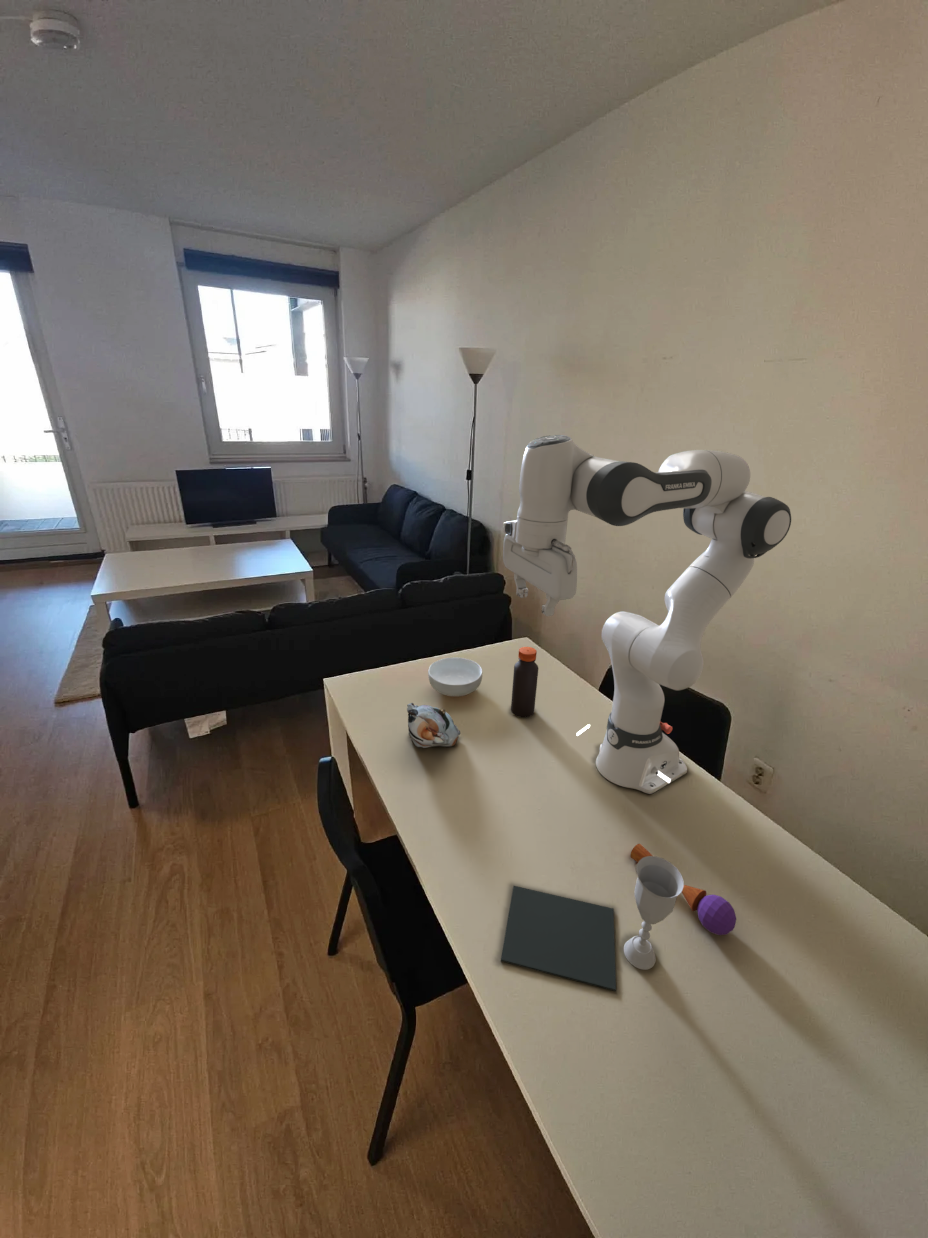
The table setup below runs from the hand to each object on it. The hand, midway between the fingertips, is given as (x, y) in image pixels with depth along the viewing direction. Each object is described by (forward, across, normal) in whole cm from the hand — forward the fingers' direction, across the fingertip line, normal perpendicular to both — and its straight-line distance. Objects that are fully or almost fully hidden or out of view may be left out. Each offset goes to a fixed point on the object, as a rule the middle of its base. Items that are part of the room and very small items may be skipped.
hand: (534, 605), depth 95 cm
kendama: (+48, -32, -16) cm, 60 cm away
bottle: (+48, +31, -19) cm, 60 cm away
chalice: (+48, -38, -2) cm, 61 cm away
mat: (+48, -30, +8) cm, 57 cm away
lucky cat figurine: (+48, +27, +10) cm, 56 cm away
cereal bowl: (+48, +49, -5) cm, 69 cm away
